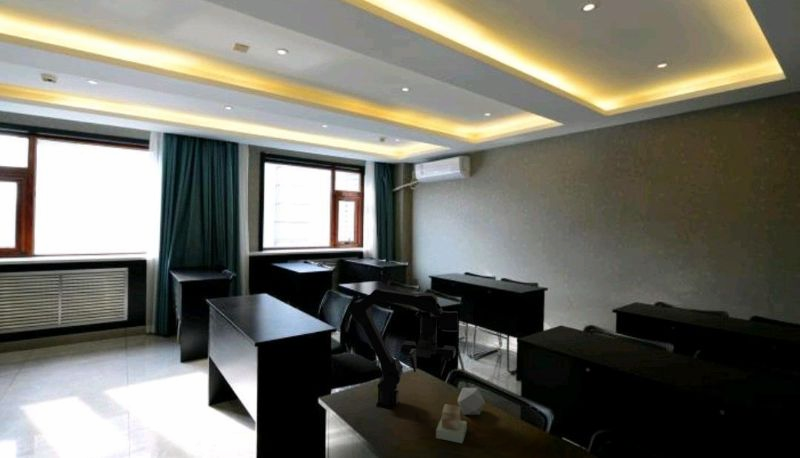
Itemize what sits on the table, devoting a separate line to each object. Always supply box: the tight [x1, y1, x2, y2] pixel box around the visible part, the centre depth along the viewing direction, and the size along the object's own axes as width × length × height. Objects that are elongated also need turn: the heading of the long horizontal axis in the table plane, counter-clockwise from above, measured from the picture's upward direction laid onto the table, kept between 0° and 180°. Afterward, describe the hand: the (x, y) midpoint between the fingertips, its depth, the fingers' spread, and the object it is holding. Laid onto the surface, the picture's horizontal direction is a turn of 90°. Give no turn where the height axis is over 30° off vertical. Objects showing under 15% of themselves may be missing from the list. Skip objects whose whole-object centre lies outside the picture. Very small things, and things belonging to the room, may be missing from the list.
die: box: [457, 387, 486, 416], centre depth 129 cm, size 8×9×10 cm
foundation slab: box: [435, 417, 468, 444], centre depth 116 cm, size 8×8×3 cm
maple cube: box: [441, 403, 462, 431], centre depth 116 cm, size 5×5×5 cm
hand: (427, 373), depth 132 cm, fingers open, 9 cm apart
